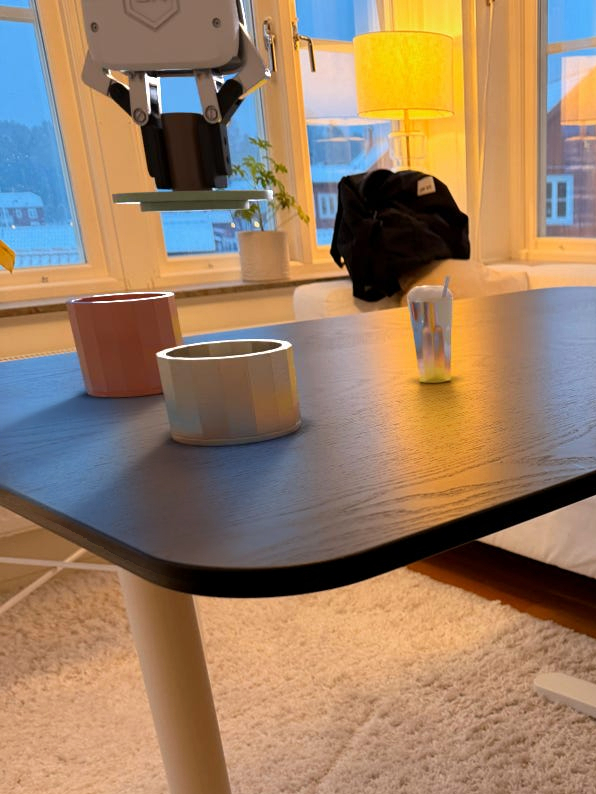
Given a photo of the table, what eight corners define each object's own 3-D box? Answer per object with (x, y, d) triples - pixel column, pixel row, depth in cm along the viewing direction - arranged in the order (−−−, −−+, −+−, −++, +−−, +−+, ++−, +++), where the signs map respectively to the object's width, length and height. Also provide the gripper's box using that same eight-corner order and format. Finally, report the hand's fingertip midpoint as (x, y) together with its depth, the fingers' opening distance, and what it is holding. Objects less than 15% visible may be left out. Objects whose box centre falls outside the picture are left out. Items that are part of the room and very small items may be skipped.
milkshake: (435, 387, 87) (428, 277, 83) (404, 381, 91) (396, 276, 86) (471, 380, 90) (466, 274, 85) (439, 374, 93) (433, 272, 89)
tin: (152, 448, 69) (135, 361, 66) (196, 418, 78) (182, 341, 75) (284, 443, 68) (272, 356, 65) (312, 415, 77) (303, 337, 75)
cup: (69, 399, 89) (46, 304, 85) (111, 380, 99) (93, 294, 95) (169, 395, 89) (151, 300, 85) (203, 377, 98) (187, 290, 94)
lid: (88, 213, 61) (67, 108, 58) (150, 212, 71) (134, 123, 68) (250, 208, 60) (237, 103, 58) (289, 208, 71) (280, 118, 68)
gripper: (-9, -146, 54) (61, 191, 62) (254, -158, 53) (290, 184, 61) (49, -107, 61) (105, 192, 69) (284, -117, 60) (313, 186, 68)
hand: (192, 185), depth 65 cm, fingers closed on lid, 3 cm apart
